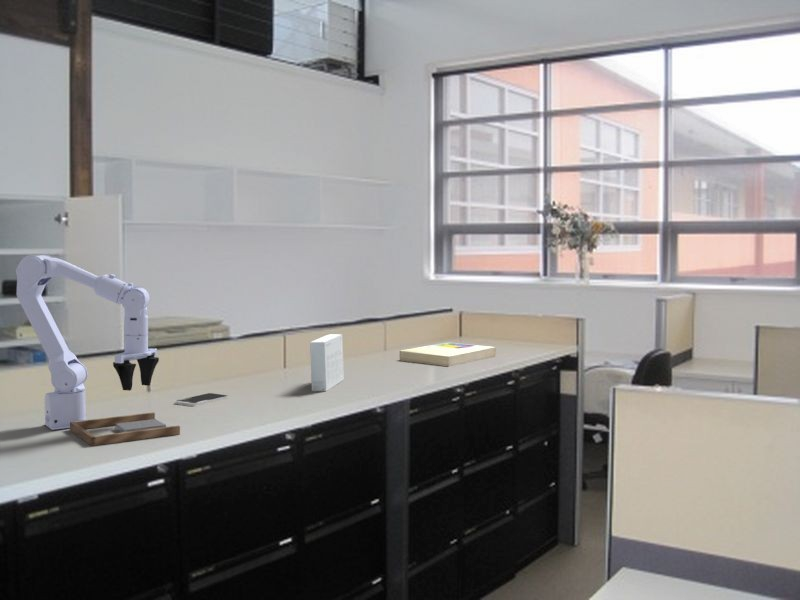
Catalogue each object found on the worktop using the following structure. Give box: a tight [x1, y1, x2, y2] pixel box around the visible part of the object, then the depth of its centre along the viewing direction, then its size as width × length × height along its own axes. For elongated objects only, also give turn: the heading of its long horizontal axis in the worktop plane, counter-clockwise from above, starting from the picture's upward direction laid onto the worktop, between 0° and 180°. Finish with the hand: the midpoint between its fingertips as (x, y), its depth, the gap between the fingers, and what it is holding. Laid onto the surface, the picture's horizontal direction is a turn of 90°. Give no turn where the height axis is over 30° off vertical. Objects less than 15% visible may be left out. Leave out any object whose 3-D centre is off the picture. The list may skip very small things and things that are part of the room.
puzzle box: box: [399, 342, 497, 367], centre depth 335 cm, size 36×5×24 cm
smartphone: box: [174, 392, 229, 407], centre depth 243 cm, size 8×1×15 cm
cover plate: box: [115, 418, 167, 433], centre depth 206 cm, size 10×8×2 cm
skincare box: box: [309, 333, 345, 392], centre depth 270 cm, size 21×5×16 cm, turn 168°
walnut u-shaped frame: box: [69, 411, 181, 447], centre depth 203 cm, size 21×19×2 cm
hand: (136, 387), depth 211 cm, fingers open, 7 cm apart
